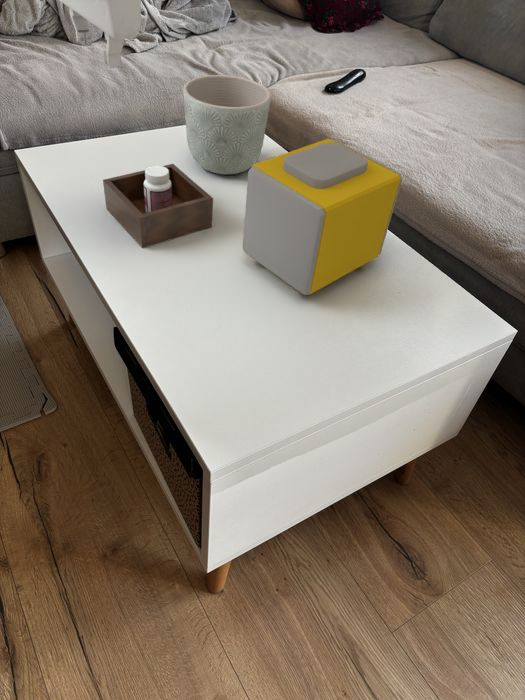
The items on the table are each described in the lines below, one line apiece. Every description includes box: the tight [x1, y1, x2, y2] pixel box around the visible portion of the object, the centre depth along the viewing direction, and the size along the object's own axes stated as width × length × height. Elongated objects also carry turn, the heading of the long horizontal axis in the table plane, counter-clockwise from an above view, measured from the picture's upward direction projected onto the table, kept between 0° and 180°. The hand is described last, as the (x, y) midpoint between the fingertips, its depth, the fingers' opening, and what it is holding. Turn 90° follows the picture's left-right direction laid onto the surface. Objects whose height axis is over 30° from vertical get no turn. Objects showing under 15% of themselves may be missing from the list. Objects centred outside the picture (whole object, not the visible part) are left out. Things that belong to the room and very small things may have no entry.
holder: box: [102, 163, 214, 249], centre depth 97 cm, size 14×14×6 cm
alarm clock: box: [242, 137, 403, 296], centre depth 88 cm, size 20×16×18 cm
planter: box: [182, 74, 272, 175], centre depth 111 cm, size 17×17×15 cm
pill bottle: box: [144, 165, 172, 213], centre depth 96 cm, size 5×5×8 cm
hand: (98, 54), depth 78 cm, fingers open, 8 cm apart
